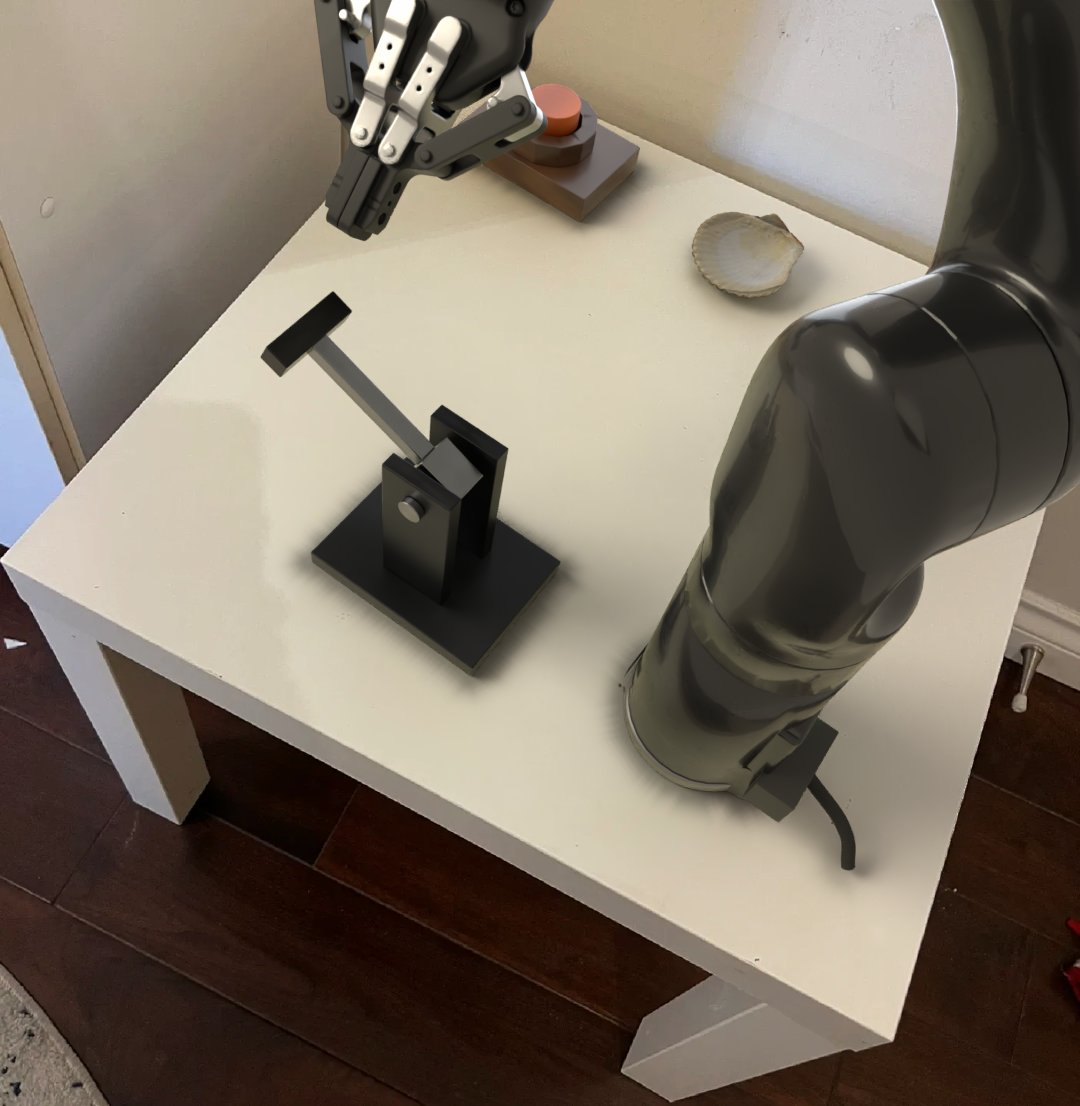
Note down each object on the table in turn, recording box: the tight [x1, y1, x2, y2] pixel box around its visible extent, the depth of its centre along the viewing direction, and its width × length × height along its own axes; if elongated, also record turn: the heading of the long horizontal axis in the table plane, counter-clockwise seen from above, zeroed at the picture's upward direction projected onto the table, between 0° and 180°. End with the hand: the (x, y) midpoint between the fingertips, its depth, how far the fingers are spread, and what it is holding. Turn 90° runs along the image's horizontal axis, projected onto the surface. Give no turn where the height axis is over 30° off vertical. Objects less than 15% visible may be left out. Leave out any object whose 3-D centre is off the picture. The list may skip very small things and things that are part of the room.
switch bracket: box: [310, 404, 562, 677], centre depth 58 cm, size 12×9×12 cm
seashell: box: [691, 211, 805, 299], centre depth 78 cm, size 8×3×8 cm
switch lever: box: [260, 290, 483, 499], centre depth 54 cm, size 12×5×2 cm, turn 55°
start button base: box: [456, 83, 641, 223], centre depth 81 cm, size 12×8×4 cm, turn 55°
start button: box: [531, 83, 581, 137], centre depth 79 cm, size 4×4×2 cm
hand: (346, 231), depth 51 cm, fingers closed
